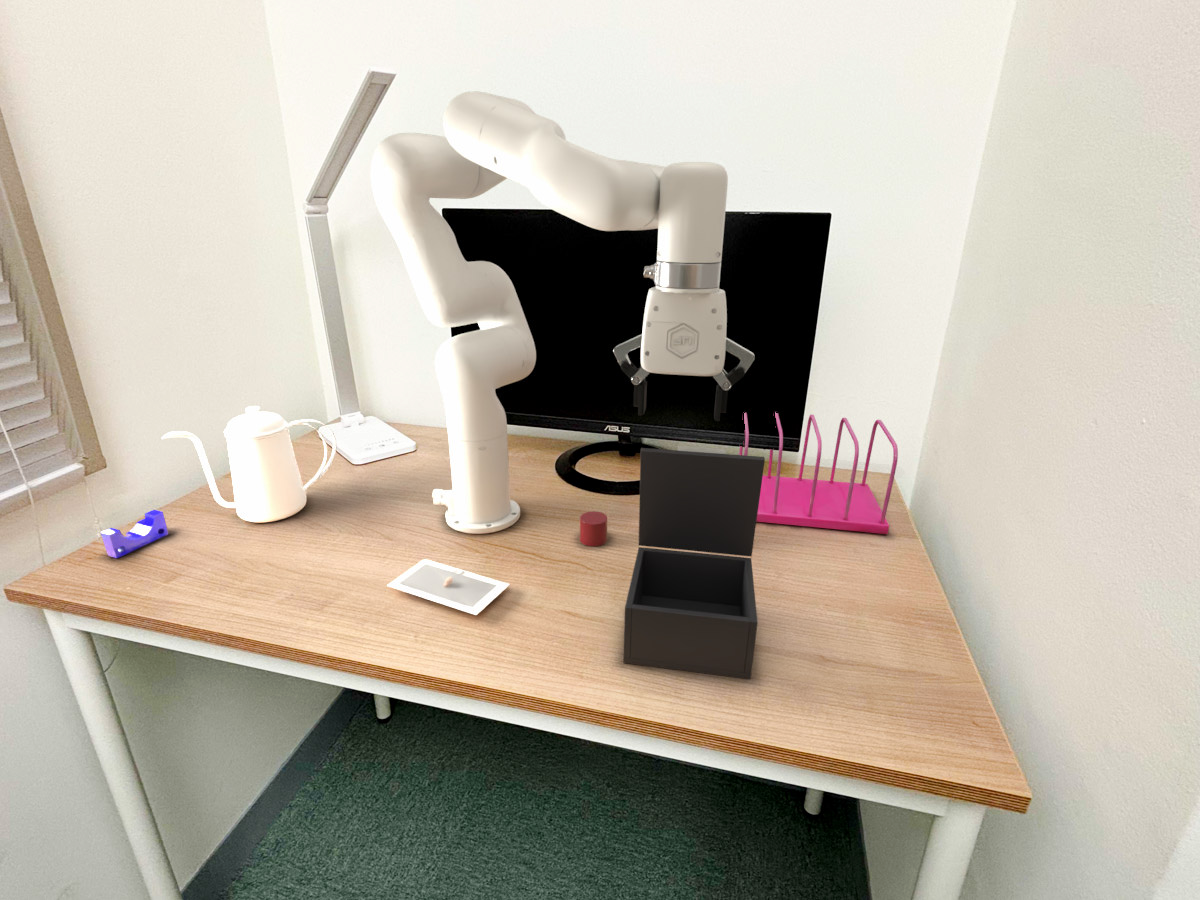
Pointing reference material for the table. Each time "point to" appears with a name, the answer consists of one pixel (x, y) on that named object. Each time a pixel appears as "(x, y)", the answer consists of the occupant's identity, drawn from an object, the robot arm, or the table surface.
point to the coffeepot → (262, 466)
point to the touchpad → (449, 586)
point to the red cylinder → (593, 528)
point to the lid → (699, 499)
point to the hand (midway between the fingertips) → (679, 414)
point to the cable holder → (135, 535)
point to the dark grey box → (691, 613)
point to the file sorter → (823, 490)
